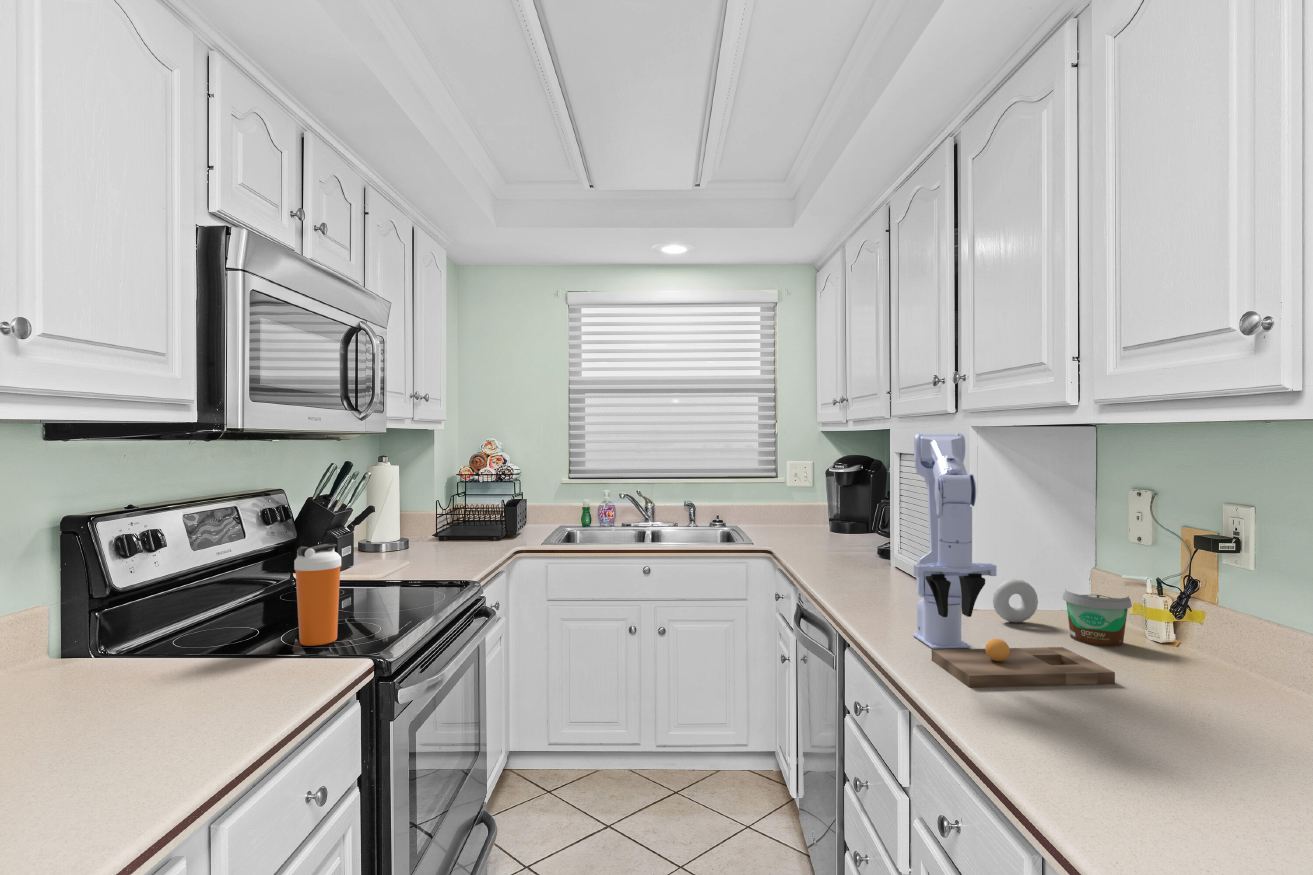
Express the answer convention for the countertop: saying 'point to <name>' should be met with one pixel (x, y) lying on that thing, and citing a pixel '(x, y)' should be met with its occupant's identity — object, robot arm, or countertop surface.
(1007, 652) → the ball
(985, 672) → the board
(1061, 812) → the countertop surface
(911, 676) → the countertop surface
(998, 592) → the donut
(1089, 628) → the food container
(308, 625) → the shaker bottle
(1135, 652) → the countertop surface
